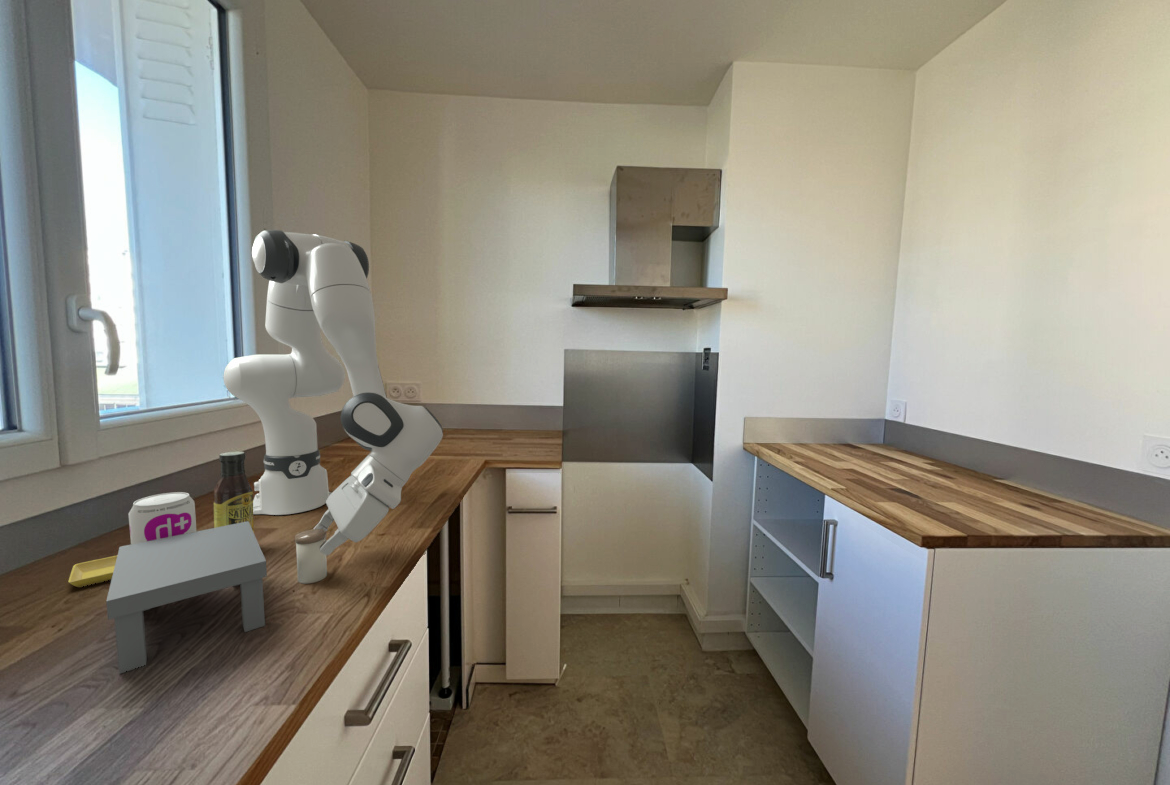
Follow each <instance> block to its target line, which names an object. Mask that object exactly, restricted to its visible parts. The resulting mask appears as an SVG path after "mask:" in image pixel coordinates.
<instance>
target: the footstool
mask: <svg viewBox="0 0 1170 785" xmlns="http://www.w3.org/2000/svg"><path fill="white" fill-rule="evenodd" d="M267 571H268V570H267V561H266V558H265V555H264V553H263V551H262V549H261V546H260V544H259V542H258V539H257V538H256V534H255V532H254V533H253V530H252V528H251V526H250V524H249V521H247V522H242V523H237V524H231V525H226V526H221V527H216V528H214V527H213V528H208V529H203V530H196V532H191V533H186V534H181V535H176V536H171V537H166V538H161V539H156V540H151V541H146V542H141V543H136V544H131V543H130V544H126V545H122V546H119V548H118V552H117V559H116V564H115V568H114V572H113V576H112V580H110V585H109V587H108V588H109V589H108V592H107V597H106V601H105V602H106V613H107V620H108V621H109V620H113V619H114V629H115V640H116V651H117V652H116V653H117V662H118V664H117V665H118V673H119V674H118V675H121V674H123V673H127V672H129V671H133V670H136V669H138V667H139V668H142V667H144V665H145V666H147V659H148V658H147V657H148V654H147V642H146V629H145V618H144V612H145V611H149V610H151V609H153V608H157V607H160V606H164V605H168V604H171V603H175V602H179V601H183V600H187V599H189V598H193V597H197V596H200V595H205V594H207V593H208V594H209V593H211V592H216V591H219V590H223V589H226V588H230V587H236V586H240V600H241V602H240V603H241V617H242V618H241V619H242V627H243V631H244V633H247V632H250V631H253V630H255V629H258V628H262V627H265V626H266V623H265V622H266V621H265V620H266V619H265V604H264V603H265V600H264V584H263V578H267V577H268V575H267V574H268V573H267ZM141 666H142V667H141ZM135 668H136V669H135ZM126 671H127V672H126Z"/></svg>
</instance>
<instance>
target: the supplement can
mask: <svg viewBox="0 0 1170 785" xmlns="http://www.w3.org/2000/svg"><path fill="white" fill-rule="evenodd" d="M195 502H196V501H195V500H194V499H193V498H192V497H191V496H190V493H188V492H184V491H183V492H182V491H177V492H176V491H175V492H166V493H165V492H163V493H158V494H153V495H149V496H146V497H142V498H138V499H137V500H135V501H133V504H132V506H131V507H130V508H131V509H130V510H129V512H128V526H129V535H130V545H131V544H136V543H141V542H146V541H151V540H156V539H161V538H166V537H171V536H176V535H181V534H186V533H191V532H196V531H197V521H196V520H197V518H196V517H197V516H196V504H195Z"/></svg>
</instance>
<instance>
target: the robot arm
mask: <svg viewBox="0 0 1170 785" xmlns="http://www.w3.org/2000/svg"><path fill="white" fill-rule="evenodd" d="M251 255H252V256H251V257H252V262H253V264H254V267H255V269H256V271H257V273H258V274H259V275H260V276H261V277H262V278H263V279H264V280H265V279H266V280H268V286H267V295H266V307H265V308H266V310H265V321H264V323H265V324H264V326H265V330H266V332H267V333H268V335H269V336H270V337H271V338H272V339H273V340H274V341H277V342H278V343H281V344H283V345H286V346H288V347H290V348H291V352H290V353H287V354H281V353H280V354H276V353H275V354H273V353H272V354H269V353H267V354H263V353H262V354H257V353H256V354H250V355H244V356H243V355H242V356H239V357H234V358H232V359H231V360H230V361H229V362H228V363H227V365H226V366H225V367H224V368H225V369H224V372H223V383H224V386H225V388H226V390H227V391H228V393H230V394H231V395H232V396H234V397H235V398H237V399H239V400H241V401H242V402H244V403H245V404H246V405H248V406H249V407H251V408H252V410H253V411H254V412H255V413H256V414H257V416H258V418H259V419H260V422H261V425H262V428H263V434H264V443H265V454H264V455H263V465H264V467H263V468H264V472H263V474H262V475H261V476H260V479H258V481H255V482H253V487H254V488H253V489H254V492H259V493H256V494H254V496H253V515H271V516H274V515H275V516H283V515H291V514H298V513H304V512H307V511H311V510H315V509H317V508H320V507H322V506H323V505H325V504H326V507H327V508H328V509H327V510H326V511H325V512H324V513H323V515H322V517H321V518H320V520H319V521H318V523H317V524H316V525H315V526H314V527H313V529H323V530H325V531H326V532H327V531H328V530H329V527H330V526H331V525H332V523H333V522H335V525H336V526H337V529H336V530H335V531H334V534H333V535H332V536H331V537H329V538H328V539H326V540H325V541H324V542H323V544H322V545H321V546H320V547H319V548H320V551H321V553H323V554H324V555H326V556H329V555H331V554H332V552H333V551H335V549H336V548H338V547H339V546H341V545H342V544H344V543H346V541H347V540H351V541H352V542H354V543H358V542H360V541H362V540H363V539H365V538H366V537H367V536H368V535H369V534H370V533H371V532H372V531H373V530H374V529H375V528H376V526H378V525H379V523H380V522H382V521H383V519H384V518H385V516H387V514H388V512H389V510H390V509H393V510H394V509H396V507H398V505H399V504H400V503H401V501H402V489H403V487H404V486H405V485H406V483H407V482H408V481H409V479H410V477H411V475H412V473H413V472H414V471H415V470H416V469H418V468H419V467H421V466H422V465H423V464H424V463H426V460H428V458H429V457H430V456H431V455H432V454H433V453H434V452H435V450H436V448H437V447H438V445H439V444H440V443H441V441H442V439H443V436H444V434H443V433H444V431H443V427H442V424H441V423H440V422H439V419H437V417H436V416H435V415H434V413H432V412H431V411H430V410H429V409H428V408H427V407H425V406H423V405H412V404H411V405H410V404H406V403H402V402H399V401H395V400H393V399H390V398H388V397H387V393H386V389H385V386H384V381H383V378H382V373H381V371H380V370H381V369H380V367H379V363H378V362H379V361H378V355H377V344H376V343H377V339H376V335H377V334H376V316H375V308H374V301H373V296H372V293H371V289H370V285H369V283H368V280H367V279H368V276H369V272H370V262H369V261H370V260H369V258H368V255H367V253H366V251H365V249H364V248H363V247H362V246H361V245H359V244H356V243H354V242H351V241H348V240H340V239H336V238H333V237H329V236H324V235H320V234H310V233H309V234H308V233H301V232H290V231H288V232H287V231H283V230H280V229H278V230H277V229H271V230H270V229H266V230H262V231H260V233H259V234H257V235H256V236H255V238H254V241H253V245H252V249H251ZM321 331H322V333H323V334H324V336H325V337H326V339H327V340H328V342H329V343H330V344H331V346H332V347H333V348H334V350H335V352H336V353H337V355H338V356H339V357H340V359H341V362H342V363H343V364H342V363H341V362H340V360H339V359H338V358H336V357H335V356H333V354H331V353H330V352H329V351H328V350H327V348H326V347H325V345H324V343H323V342H324V341H323V340H322V333H321ZM344 367H345V368H344ZM345 370H346V371H345ZM346 372H347V376H348V381H349V383H350V388H351V392H352V397H351V398H349V399H348V400H347V401H345V402H346V403H345V404H344V405H343V407H342V409H341V413H340V422H341V425H342V428H343V430H344V431H345V433H346V434H347V435H348V437H350V438H351V439H352V440H354V441H355V443H356V444H357V445H359V446H360V448H363V449H364V450H366V451H368V452H369V454H367V456H366V457H365V458H364V459H363V460H362V461H361V462H360V463H359V464H358V465H357V466H356V467H355V468H354V469H353V470H352V471H351V473H350V475H349V477H347V478H346V479H345V480H343V481H342V483H341V484H340V485H338V486H337V488H335V489H334V490H333V491H332V492H331V491H329V490H330V489H329V479H328V471H327V469H326V468H325V467H324V466H322V465H321V453H320V449H319V448H318V434H317V422H316V421H315V419H314V417H312V416H311V415H309V414H307V413H305V412H302V411H299V410H296V409H294V408H292V407H291V404H290V400H289V399H295V398H309V397H321V396H326V395H329V394H334V393H337V392H339V391H340V390H341V389H342V387H343V386H344V383H345V379H346Z"/></svg>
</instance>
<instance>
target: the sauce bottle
mask: <svg viewBox="0 0 1170 785" xmlns="http://www.w3.org/2000/svg"><path fill="white" fill-rule="evenodd" d="M218 455H219V457H218V458H219V463H220V478H219V480H218V481H217V482H216V484H215V487H214V488H213V498H214V499H213V524H214V525H213V526H214V527H213V528H216V527H221V526H226V525H231V524H237V523H242V522H247V521H249V524H250V526H251V528H252V530H253V533H254V534H255V528H254V524H255V523H254V522H255V520H254V519H255V518H254V514H253V500H254V492H253V490H252V487H251V485H250V483H249V481H248V478H247V475H246V470H245V460H246V453H245V452H244V451H228V452H222V453H220V454H218Z"/></svg>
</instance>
